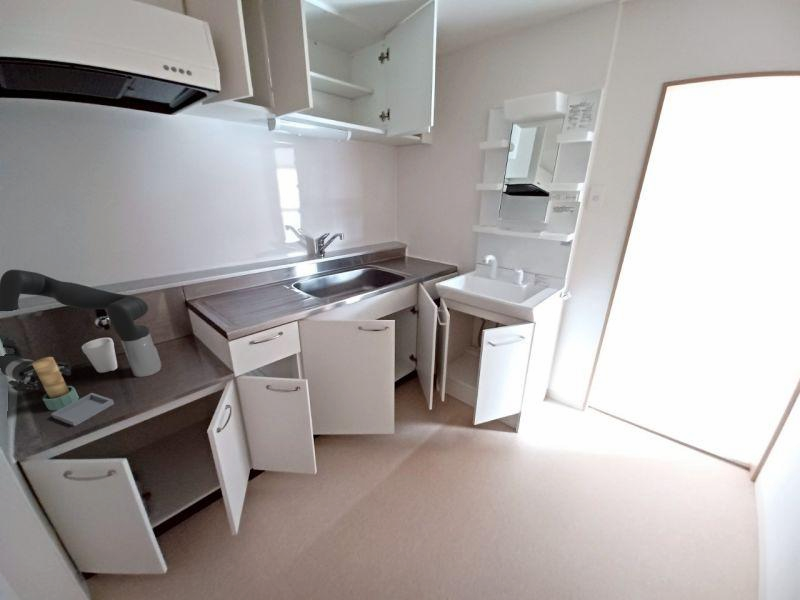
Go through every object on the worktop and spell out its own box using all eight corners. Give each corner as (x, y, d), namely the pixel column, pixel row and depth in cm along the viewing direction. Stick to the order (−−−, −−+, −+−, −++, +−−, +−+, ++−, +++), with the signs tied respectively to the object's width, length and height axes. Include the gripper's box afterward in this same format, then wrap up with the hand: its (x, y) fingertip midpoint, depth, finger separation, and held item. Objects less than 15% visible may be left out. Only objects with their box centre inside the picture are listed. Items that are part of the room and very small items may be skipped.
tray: (54, 419, 106) (51, 413, 105) (94, 397, 116) (91, 392, 115) (75, 427, 102) (72, 421, 102) (114, 404, 113) (112, 399, 112)
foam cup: (119, 360, 139) (109, 335, 134) (124, 368, 134) (114, 342, 129) (91, 370, 132) (79, 343, 127) (95, 378, 127) (83, 351, 122)
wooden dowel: (62, 398, 115) (41, 357, 108) (77, 397, 115) (57, 356, 108) (49, 407, 110) (27, 365, 103) (64, 407, 110) (43, 364, 104)
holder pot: (62, 397, 116) (56, 386, 114) (84, 396, 117) (79, 385, 115) (42, 412, 109) (36, 400, 107) (66, 410, 110) (60, 399, 108)
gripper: (-7, 372, 105) (20, 382, 101) (48, 352, 118) (74, 360, 113) (3, 390, 108) (30, 401, 104) (56, 368, 121) (82, 376, 116)
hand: (53, 379), depth 108 cm, fingers open, 8 cm apart
